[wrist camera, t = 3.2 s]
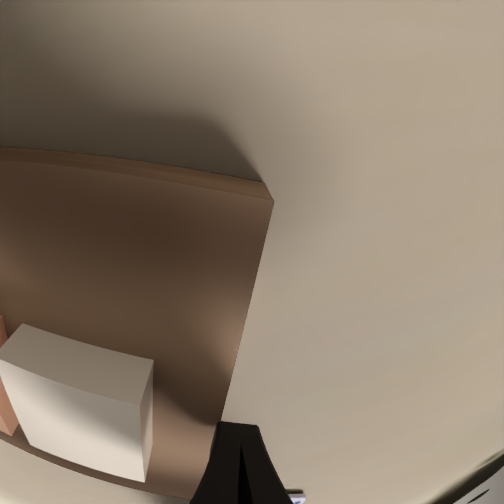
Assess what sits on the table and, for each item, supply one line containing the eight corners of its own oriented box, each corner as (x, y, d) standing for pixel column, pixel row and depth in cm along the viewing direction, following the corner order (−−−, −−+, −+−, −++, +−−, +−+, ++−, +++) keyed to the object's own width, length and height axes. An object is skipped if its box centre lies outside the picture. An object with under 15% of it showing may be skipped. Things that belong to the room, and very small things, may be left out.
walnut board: (202, 459, 16) (199, 500, 13) (-9, 394, 14) (-27, 423, 11) (264, 183, 10) (274, 201, 8) (-52, 145, 9) (-95, 155, 6)
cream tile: (152, 444, 11) (144, 482, 9) (46, 412, 10) (30, 445, 9) (153, 360, 9) (140, 405, 7) (22, 323, 9) (-7, 356, 7)
